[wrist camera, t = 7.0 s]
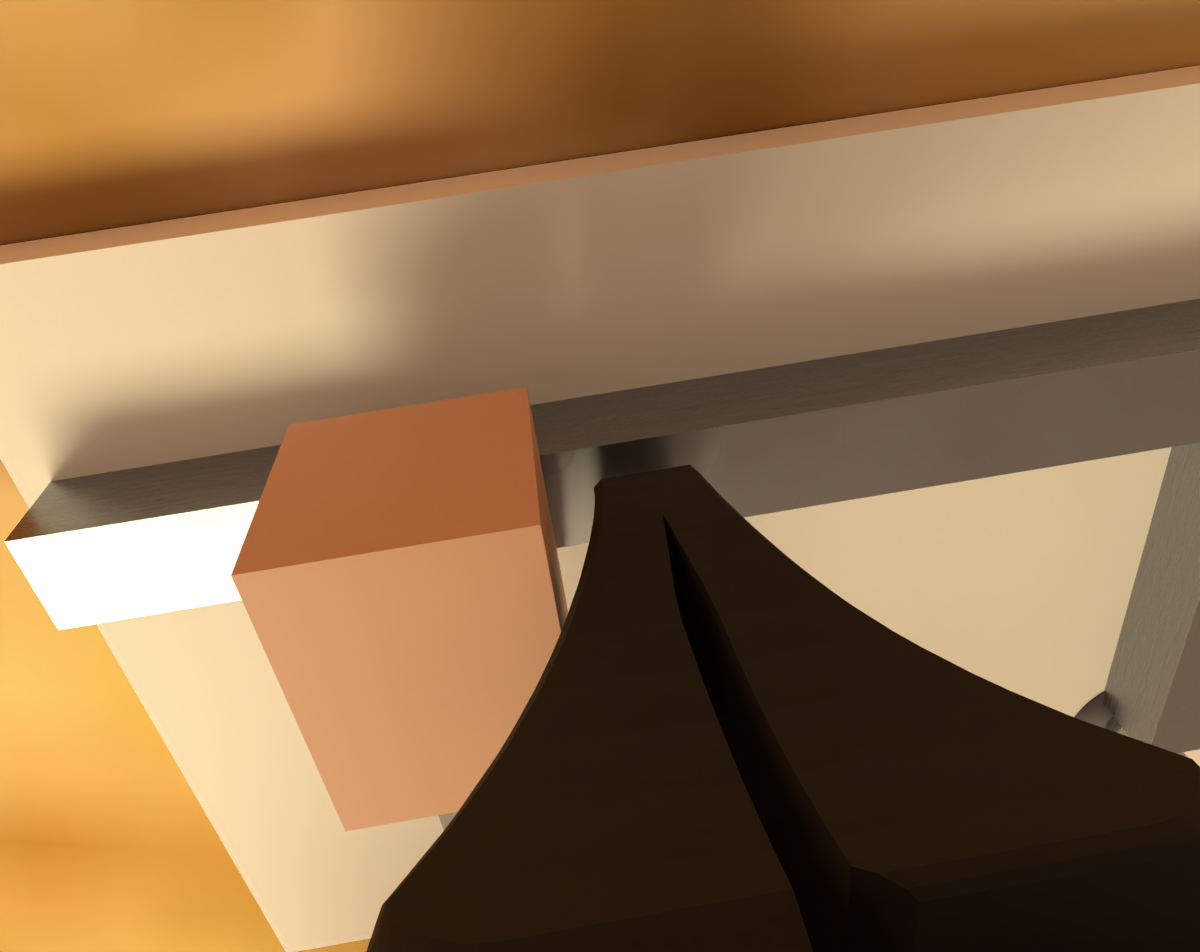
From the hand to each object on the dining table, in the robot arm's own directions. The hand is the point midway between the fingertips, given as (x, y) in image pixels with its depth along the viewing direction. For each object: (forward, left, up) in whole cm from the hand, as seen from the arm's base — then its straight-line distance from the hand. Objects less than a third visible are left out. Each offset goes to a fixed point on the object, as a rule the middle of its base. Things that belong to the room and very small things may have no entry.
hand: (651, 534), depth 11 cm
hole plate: (-4, -3, -4) cm, 6 cm away
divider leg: (-4, +3, -2) cm, 5 cm away
